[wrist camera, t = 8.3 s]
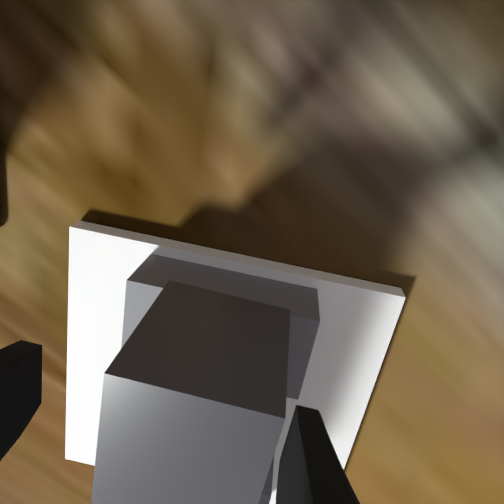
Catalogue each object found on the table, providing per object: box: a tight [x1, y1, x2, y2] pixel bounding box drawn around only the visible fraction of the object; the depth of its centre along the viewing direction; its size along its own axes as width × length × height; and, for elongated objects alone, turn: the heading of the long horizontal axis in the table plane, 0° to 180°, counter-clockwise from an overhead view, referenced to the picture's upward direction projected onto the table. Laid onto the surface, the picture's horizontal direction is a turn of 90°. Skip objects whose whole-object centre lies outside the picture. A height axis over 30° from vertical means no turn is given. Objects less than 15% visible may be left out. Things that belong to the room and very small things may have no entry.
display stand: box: [65, 221, 406, 504], centre depth 21 cm, size 16×15×4 cm
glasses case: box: [91, 280, 290, 504], centre depth 17 cm, size 5×14×6 cm, turn 168°
